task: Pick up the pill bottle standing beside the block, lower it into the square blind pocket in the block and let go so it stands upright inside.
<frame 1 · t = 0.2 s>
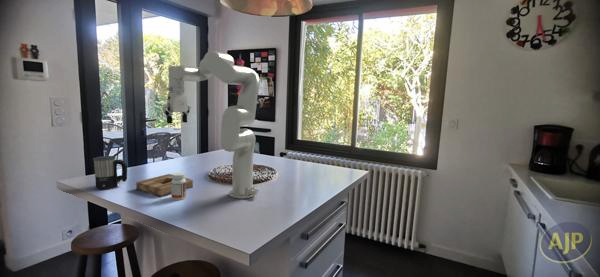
hand: (177, 122, 156), 31 cm above the kitchen island, tool pointing down, fingers open, 9 cm apart
milk frother: (111, 185, 147), on the kitchen island
socket block: (165, 188, 144), on the kitchen island
pill bottle: (179, 198, 132), on the kitchen island
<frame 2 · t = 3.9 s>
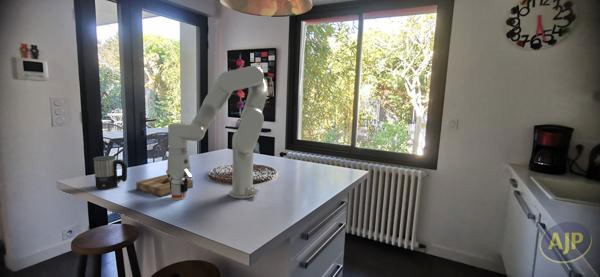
hand: (178, 190, 132), 4 cm above the kitchen island, tool pointing down, fingers closed on pill bottle, 6 cm apart
pill bottle: (179, 198, 132), on the kitchen island, touching gripper
everything else where it was.
when the fingers open (5 cm above the kitchen island, at t = 9.4 s): pill bottle stays where it is, resting on socket block.
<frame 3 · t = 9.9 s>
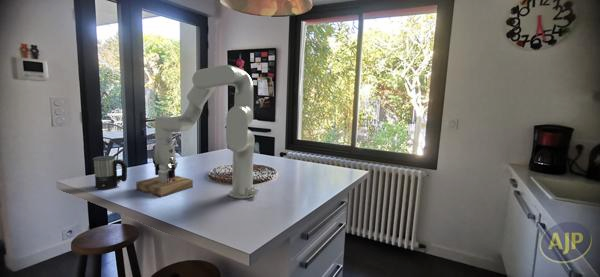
hand: (165, 176, 143), 6 cm above the kitchen island, tool pointing down, fingers open, 9 cm apart
pill bottle: (165, 187, 144), point 1 cm above the kitchen island, touching socket block
everything else where it was.
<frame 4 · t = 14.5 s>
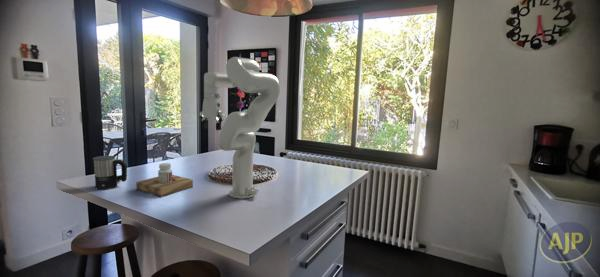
hand: (211, 129, 156), 28 cm above the kitchen island, tool pointing down, fingers open, 9 cm apart
nothing on the kitchen island moved.
at the end: pill bottle 0.2 cm off-centre on the socket block, point 0.8 cm above the socket block's base; pill bottle tilted 0°; the gripper is holding nothing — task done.
